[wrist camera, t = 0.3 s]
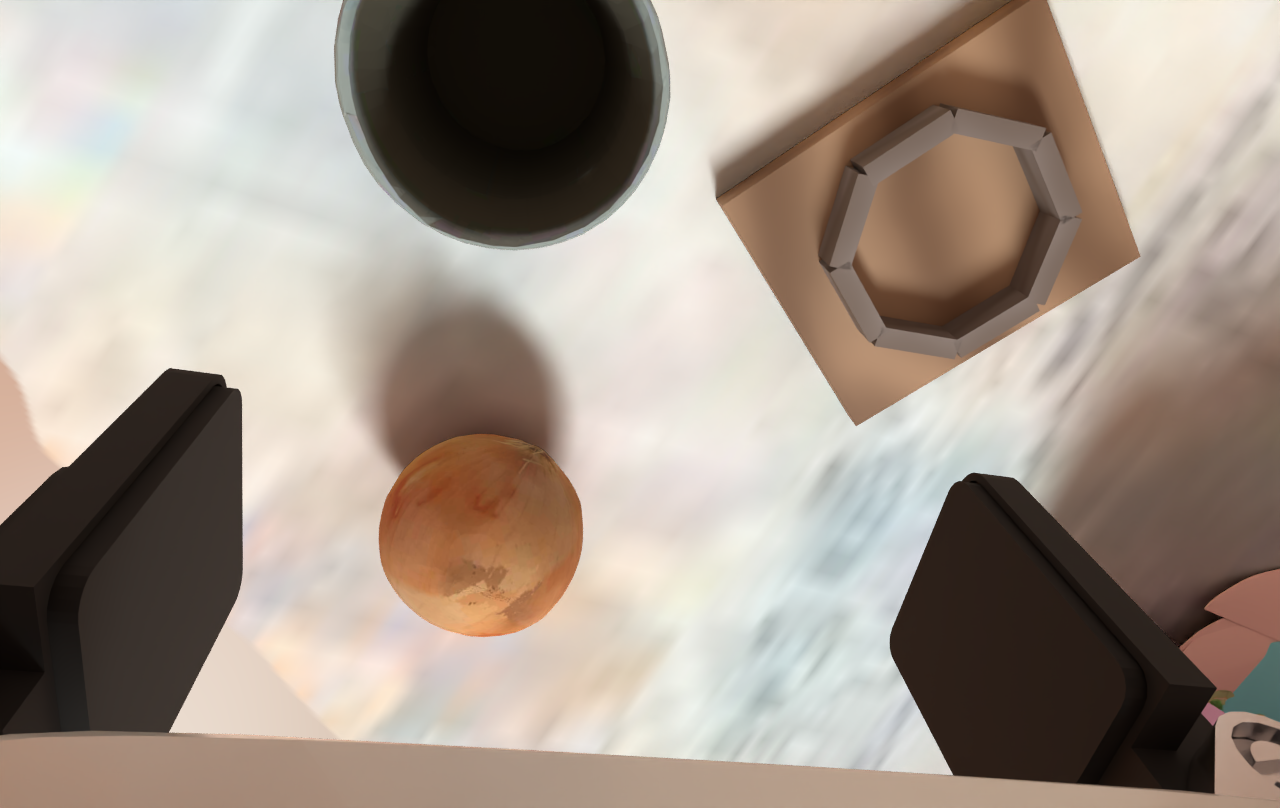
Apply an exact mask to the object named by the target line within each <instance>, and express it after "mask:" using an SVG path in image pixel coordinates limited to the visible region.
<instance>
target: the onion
mask: <svg viewBox="0 0 1280 808" xmlns="http://www.w3.org/2000/svg"><path fill="white" fill-rule="evenodd" d="M582 542H583V522H582V510H581V504H580V500H579V498H578V496H577V493H576V491H575V489H574V487H573V486H572V484H571V482H570V481H569V479H568V478H567V476H566V475H565V474H564V472H563V471H562V470H561V469H560V468H559V466H558V465H557V464H556V463H555V462H554V460H553V459H552V458H551V457H550V456H549V455H548V454H547V453H546V452H545V451H544V450H542V449H541V448H539V447H537V446H535V445H532V444H528V443H526V442H524V441H522V440H520V439H514V438H509V437H504V436H499V435H493V434H473V435H466V436H458V437H454V438H451V439H449V440H446V441H444V442H442V443H439V444H437V445H435V446H433V447H431V448H430V449H428V450H426V451H425V452H423V453H422V454H420V455H419V456H418V457H417V458H415V459H414V460H413V461H412V462H411V463H410V464H409V465H408V466H407V467H406V468H405V469H404V470H403V471H402V473H401V474H400V475H399V477H398V479H397V480H396V482H395V484H394V486H393V487H392V489H391V491H390V492H389V494H388V496H387V498H386V500H385V504H384V507H383V511H382V515H381V520H380V526H379V550H380V558H381V563H382V566H383V569H384V572H385V575H386V577H387V579H388V581H389V582H390V584H391V586H392V587H393V589H394V590H395V592H396V593H397V594H398V596H399V597H400V598H401V599H402V600H403V602H404V603H405V604H406V605H407V606H408V607H409V608H410V609H412V610H413V611H414V612H415V613H416V614H417V615H419V616H420V617H421V618H423V619H424V620H426V621H428V622H429V623H431V624H433V625H435V626H437V627H440V628H442V629H445V630H447V631H450V632H455V633H459V634H463V635H467V636H478V637H488V636H500V635H505V634H510V633H515V632H517V631H520V630H523V629H525V628H527V627H529V626H531V625H532V624H534V623H536V622H538V621H539V620H541V619H542V618H543V617H544V616H545V615H546V614H547V613H548V612H549V611H550V610H551V609H552V608H553V606H554V605H555V604H556V603H557V602H558V601H559V599H560V598H561V597H562V595H563V594H564V592H565V591H566V589H567V587H568V585H569V584H570V582H571V580H572V578H573V576H574V573H575V571H576V568H577V565H578V562H579V559H580V555H581V550H582Z"/></svg>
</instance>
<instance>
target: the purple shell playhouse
mask: <svg viewBox="0 0 1280 808" xmlns="http://www.w3.org/2000/svg"><path fill="white" fill-rule="evenodd" d="M1204 609H1205V610H1207V611H1210V612H1212V613H1214V614H1217V615H1219V616H1221V617H1224V618H1221V619H1219V620H1217V621H1215V622H1213V623H1211V624H1210V625H1208V626H1206V627H1205V628H1203V629H1201V630H1200V631H1198V632H1197V633H1196V634H1194V635H1193V636H1192V637H1191V638H1190V639H1188V640H1187V641H1186V642H1185V643H1184V644H1183V645H1182V646H1180V647H1179V649H1180V650H1181V651H1182V652H1183V653H1184V654H1185V655H1186V656H1187V657H1188V658H1189V659H1190V660H1191V661H1192V662H1193V663H1194V664H1195V665H1196V666H1197V668H1198V669H1199V670H1200V671H1201V672H1202V673H1203V674H1204V675H1205V676H1206V677H1207V678H1208V679H1209V680H1210V681H1211V682H1212V683H1213V684H1214V685H1215V686H1216V687H1217V689H1216V691H1215V692H1214V694H1213V696H1212V697H1211V699H1210V700H1209V702H1208V703H1207V705H1206V706H1205V708H1204V709H1203V711H1202V715H1203V716H1204V717H1205V718H1206V719H1207V720H1208V721H1209V722H1210V723H1211V724H1212V726H1213V725H1214V723H1215V722H1216V720H1217V719H1218V717H1219V716H1221V715H1223V714H1225V713H1228V712H1248V713H1253V714H1257V715H1261V716H1265V717H1268V718H1270V719H1272V720H1275V721H1277V722H1280V569H1278V570H1272V571H1268V572H1264V573H1260V574H1257V575H1254V576H1251V577H1249V578H1247V579H1245V580H1242V581H1240V582H1239V583H1237V584H1235V585H1234V586H1232V587H1230V588H1229V589H1227V590H1225V591H1224V592H1222V593H1221V594H1219V595H1218V596H1216V597H1215V598H1214V599H1212V600H1211V601H1210V602H1209V603H1208V604H1207V605H1206V606H1205V608H1204Z"/></svg>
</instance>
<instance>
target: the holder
mask: <svg viewBox="0 0 1280 808" xmlns="http://www.w3.org/2000/svg"><path fill="white" fill-rule="evenodd" d="M716 200H717V202H718V203H719V205H720V206H721V208H722V210H723V211H724V213H725V215H726V216H727V218H728V220H729V221H730V223H731V224H732V226H733V228H734V229H735V231H736V233H737V234H738V236H739V238H740V239H741V241H742V242H743V244H744V246H745V247H746V249H747V251H748V252H749V254H750V255H751V257H752V259H753V260H754V262H755V264H756V265H757V267H758V269H759V270H760V272H761V273H762V275H763V277H764V278H765V280H766V282H767V283H768V285H769V287H770V288H771V290H772V291H773V293H774V295H775V296H776V298H777V300H778V301H779V303H780V305H781V306H782V308H783V309H784V311H785V313H786V314H787V316H788V318H789V319H790V321H791V323H792V324H793V326H794V327H795V329H796V331H797V332H798V334H799V336H800V337H801V339H802V341H803V342H804V344H805V345H806V347H807V349H808V350H809V352H810V354H811V355H812V357H813V358H814V360H815V362H816V363H817V365H818V367H819V368H820V370H821V372H822V373H823V375H824V376H825V378H826V380H827V381H828V383H829V385H830V386H831V388H832V390H833V391H834V393H835V394H836V396H837V398H838V399H839V401H840V403H841V404H842V406H843V408H844V409H845V411H846V412H847V414H848V415H849V417H850V418H851V420H852V421H853V422H854V424H855V425H856V426H857V425H859V424H861V423H862V422H864V421H866V420H867V419H869V418H871V417H872V416H874V415H876V414H877V413H879V412H881V411H882V410H884V409H886V408H887V407H889V406H891V405H892V404H894V403H896V402H897V401H899V400H901V399H903V398H904V397H906V396H908V395H909V394H911V393H913V392H914V391H916V390H918V389H919V388H921V387H923V386H924V385H926V384H928V383H929V382H931V381H933V380H934V379H936V378H938V377H939V376H941V375H943V374H944V373H946V372H948V371H949V370H951V369H953V368H954V367H956V366H958V365H959V364H961V363H963V362H965V361H966V360H968V359H970V358H971V357H973V356H975V355H976V354H978V353H980V352H981V351H983V350H985V349H986V348H988V347H990V346H991V345H993V344H995V343H996V342H998V341H1000V340H1001V339H1003V338H1005V337H1006V336H1008V335H1010V334H1011V333H1013V332H1015V331H1016V330H1018V329H1020V328H1021V327H1023V326H1025V325H1026V324H1028V323H1030V322H1032V321H1033V320H1035V319H1037V318H1038V317H1040V316H1042V315H1043V314H1045V313H1047V312H1048V311H1050V310H1052V309H1053V308H1055V307H1057V306H1058V305H1060V304H1062V303H1063V302H1065V301H1067V300H1068V299H1070V298H1072V297H1073V296H1075V295H1077V294H1078V293H1080V292H1082V291H1083V290H1085V289H1087V288H1088V287H1090V286H1092V285H1094V284H1095V283H1097V282H1099V281H1100V280H1102V279H1104V278H1105V277H1107V276H1109V275H1110V274H1112V273H1114V272H1115V271H1117V270H1119V269H1120V268H1122V267H1124V266H1125V265H1127V264H1129V263H1130V262H1132V261H1134V260H1135V259H1137V258H1139V257H1140V254H1139V251H1138V248H1137V246H1136V243H1135V240H1134V237H1133V235H1132V232H1131V229H1130V226H1129V224H1128V221H1127V218H1126V216H1125V213H1124V210H1123V207H1122V205H1121V202H1120V199H1119V196H1118V194H1117V191H1116V188H1115V186H1114V183H1113V180H1112V177H1111V175H1110V172H1109V169H1108V166H1107V164H1106V161H1105V158H1104V156H1103V153H1102V150H1101V147H1100V145H1099V142H1098V139H1097V136H1096V134H1095V131H1094V128H1093V126H1092V123H1091V120H1090V117H1089V115H1088V112H1087V109H1086V106H1085V104H1084V101H1083V98H1082V96H1081V93H1080V90H1079V87H1078V85H1077V82H1076V79H1075V76H1074V74H1073V71H1072V68H1071V66H1070V63H1069V60H1068V57H1067V55H1066V52H1065V49H1064V46H1063V44H1062V41H1061V38H1060V36H1059V33H1058V30H1057V27H1056V25H1055V22H1054V19H1053V16H1052V14H1051V11H1050V8H1049V6H1048V3H1047V0H1012V1H1010V2H1009V3H1007V4H1006V5H1004V6H1003V7H1001V8H1000V9H998V10H997V11H995V12H994V13H992V14H991V15H989V16H988V17H986V18H985V19H983V20H982V21H981V22H979V23H978V24H976V25H975V26H973V27H972V28H970V29H969V30H967V31H966V32H964V33H963V34H961V35H960V36H958V37H957V38H955V39H954V40H952V41H951V42H949V43H948V44H946V45H945V46H943V47H942V48H940V49H939V50H937V51H936V52H934V53H933V54H931V55H930V56H928V57H927V58H925V59H924V60H922V61H921V62H919V63H918V64H916V65H915V66H913V67H912V68H910V69H909V70H907V71H906V72H905V73H903V74H902V75H900V76H899V77H897V78H896V79H894V80H893V81H891V82H890V83H888V84H887V85H885V86H884V87H882V88H881V89H879V90H878V91H876V92H875V93H873V94H872V95H870V96H869V97H867V98H866V99H864V100H863V101H861V102H860V103H858V104H857V105H855V106H854V107H852V108H851V109H849V110H848V111H846V112H845V113H843V114H842V115H840V116H839V117H837V118H836V119H834V120H833V121H831V122H830V123H829V124H827V125H826V126H824V127H823V128H821V129H820V130H818V131H817V132H815V133H814V134H812V135H811V136H809V137H808V138H806V139H805V140H803V141H802V142H800V143H799V144H797V145H796V146H794V147H793V148H791V149H790V150H788V151H787V152H785V153H784V154H782V155H781V156H779V157H778V158H776V159H775V160H773V161H772V162H770V163H769V164H767V165H766V166H764V167H763V168H761V169H760V170H758V171H757V172H755V173H754V174H753V175H751V176H750V177H748V178H747V179H745V180H744V181H742V182H741V183H739V184H738V185H736V186H735V187H733V188H732V189H730V190H729V191H727V192H726V193H724V194H723V195H721V196H720V197H718V198H717V199H716Z"/></svg>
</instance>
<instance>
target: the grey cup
mask: <svg viewBox="0 0 1280 808" xmlns="http://www.w3.org/2000/svg"><path fill="white" fill-rule="evenodd" d="M334 58H335V83H336V88H337V93H338V99H339V104H340V107H341V111H342V114H343V117H344V119H345V122H346V125H347V127H348V130H349V132H350V135H351V138H352V140H353V143H354V145H355V147H356V149H357V151H358V153H359V155H360V157H361V159H362V161H363V163H364V165H365V166H366V167H367V169H368V170H369V172H370V173H371V175H372V176H373V177H374V179H375V180H376V182H377V183H378V184H379V186H380V187H381V188H382V189H383V190H384V191H385V192H386V193H387V194H388V195H389V196H390V197H391V198H392V199H393V200H394V201H395V202H396V203H397V204H398V205H399V206H400V207H402V208H403V209H404V210H406V211H407V212H408V213H409V214H411V215H412V216H413V217H414V218H416V219H417V220H418V221H420V222H421V223H422V224H424V225H426V226H428V227H430V228H432V229H434V230H435V231H437V232H439V233H441V234H443V235H445V236H447V237H450V238H453V239H455V240H458V241H461V242H464V243H467V244H472V245H476V246H481V247H485V248H492V249H501V250H524V249H534V248H540V247H546V246H550V245H554V244H558V243H561V242H564V241H567V240H569V239H572V238H574V237H577V236H580V235H582V234H584V233H586V232H587V231H589V230H590V229H592V228H594V227H595V226H597V225H598V224H600V223H602V222H603V221H605V220H606V219H607V218H609V217H610V216H611V215H612V214H613V213H614V212H615V211H616V210H618V209H619V208H620V207H621V206H622V205H623V204H624V203H625V202H626V201H627V199H628V198H629V197H630V196H631V195H632V194H633V193H634V192H635V190H636V189H637V187H638V186H639V184H640V183H641V181H642V179H643V178H644V176H645V175H646V173H647V172H648V170H649V168H650V165H651V163H652V161H653V159H654V157H655V155H656V152H657V150H658V148H659V146H660V142H661V139H662V135H663V132H664V128H665V125H666V121H667V114H668V108H669V102H670V73H669V63H668V58H667V53H666V48H665V43H664V38H663V33H662V29H661V26H660V22H659V19H658V16H657V13H656V11H655V9H654V7H653V5H652V2H651V0H343V3H342V7H341V10H340V14H339V18H338V24H337V31H336V38H335V45H334Z"/></svg>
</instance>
